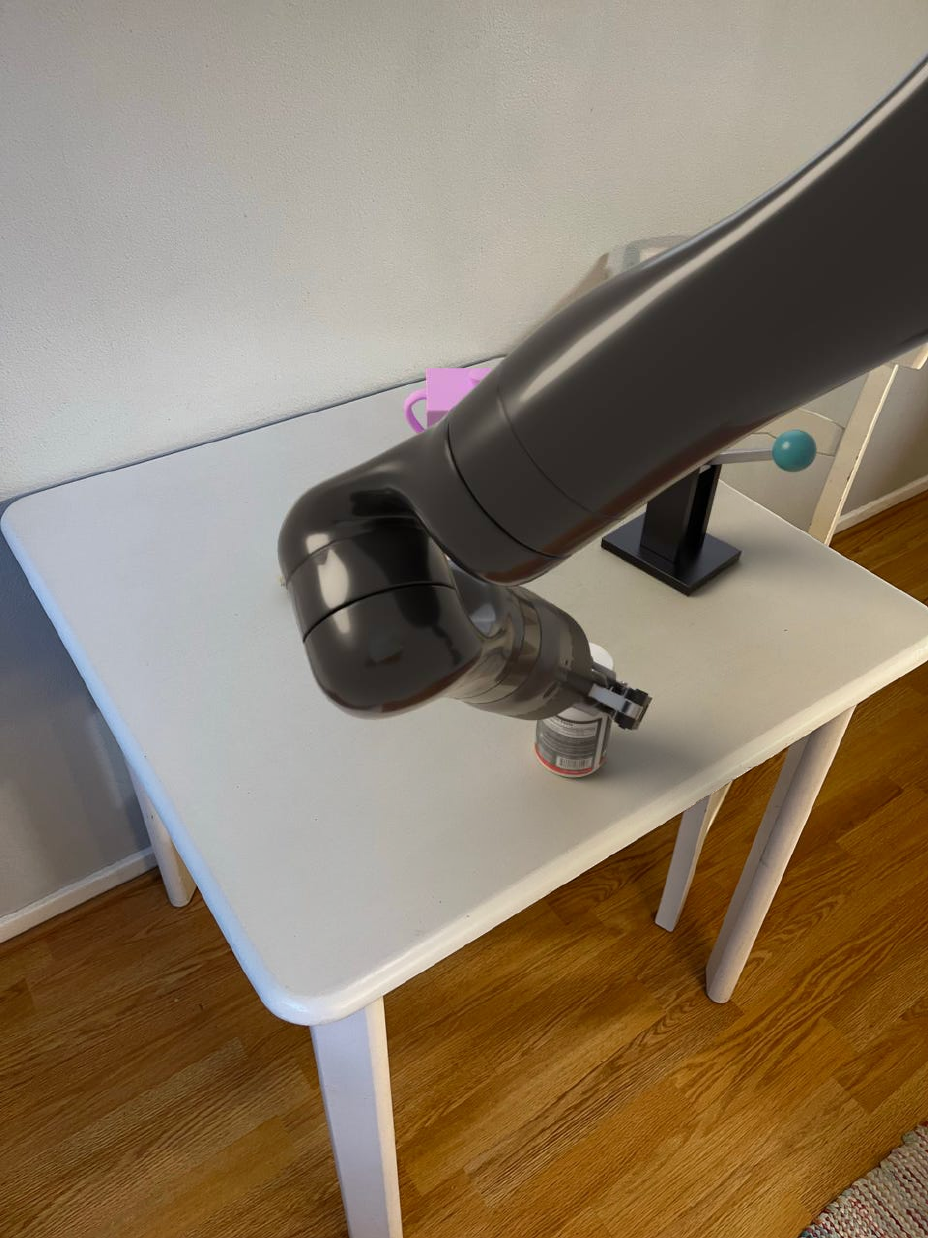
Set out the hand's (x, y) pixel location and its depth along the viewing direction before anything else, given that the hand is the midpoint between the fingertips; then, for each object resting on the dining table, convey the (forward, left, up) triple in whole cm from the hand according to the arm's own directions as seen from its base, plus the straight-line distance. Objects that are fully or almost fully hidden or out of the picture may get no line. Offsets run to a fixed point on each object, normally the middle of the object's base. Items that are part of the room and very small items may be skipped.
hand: (589, 684), depth 69 cm
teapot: (+34, -23, -6) cm, 41 cm away
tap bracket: (+11, -26, -6) cm, 29 cm away
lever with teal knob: (+5, -26, +6) cm, 27 cm away
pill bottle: (0, +2, -6) cm, 7 cm away
